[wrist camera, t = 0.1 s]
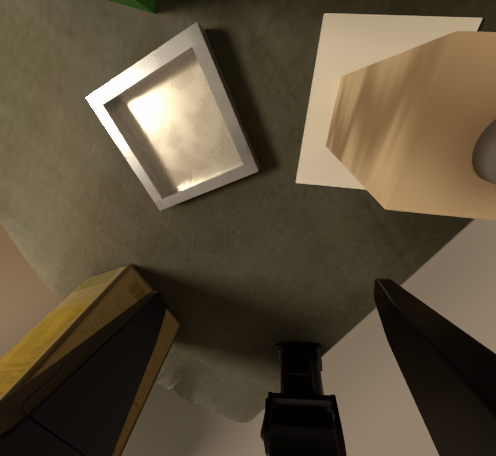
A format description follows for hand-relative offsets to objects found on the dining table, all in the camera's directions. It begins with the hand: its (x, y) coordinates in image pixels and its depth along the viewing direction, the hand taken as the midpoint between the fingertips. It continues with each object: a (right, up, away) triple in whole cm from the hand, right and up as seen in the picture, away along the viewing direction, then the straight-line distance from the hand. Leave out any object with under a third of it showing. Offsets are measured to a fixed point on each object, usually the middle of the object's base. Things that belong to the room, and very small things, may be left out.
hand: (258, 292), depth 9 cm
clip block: (+9, +12, +9) cm, 17 cm away
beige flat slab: (+9, +12, +9) cm, 17 cm away
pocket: (-6, +11, +11) cm, 17 cm away
